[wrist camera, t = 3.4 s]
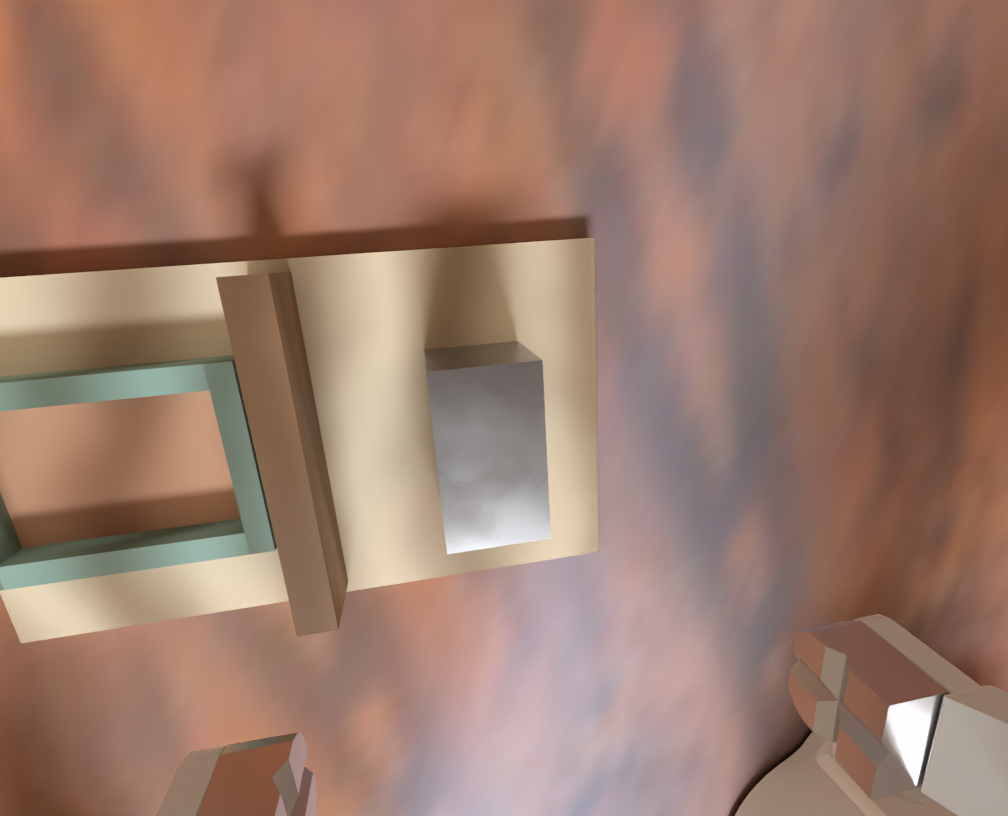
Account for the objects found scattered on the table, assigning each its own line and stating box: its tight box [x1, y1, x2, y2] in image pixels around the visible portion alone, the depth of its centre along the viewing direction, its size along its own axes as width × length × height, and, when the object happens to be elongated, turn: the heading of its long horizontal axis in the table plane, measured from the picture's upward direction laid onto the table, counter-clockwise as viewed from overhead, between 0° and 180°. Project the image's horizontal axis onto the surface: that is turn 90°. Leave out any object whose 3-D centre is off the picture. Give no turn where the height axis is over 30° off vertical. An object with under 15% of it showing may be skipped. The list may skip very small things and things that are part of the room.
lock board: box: [0, 238, 599, 643], centre depth 20 cm, size 26×15×4 cm, turn 94°
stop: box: [424, 341, 551, 554], centre depth 20 cm, size 4×7×4 cm, turn 4°
